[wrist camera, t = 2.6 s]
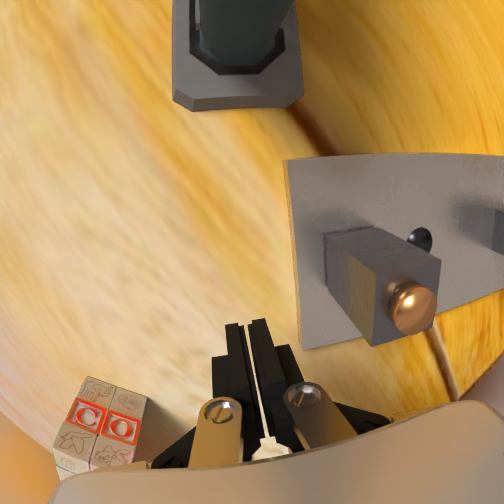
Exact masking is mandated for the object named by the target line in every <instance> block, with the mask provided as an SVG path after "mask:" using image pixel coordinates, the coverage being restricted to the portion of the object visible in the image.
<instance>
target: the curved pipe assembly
mask: <svg viewBox="0 0 504 504" xmlns="http://www.w3.org/2000/svg"><path fill="white" fill-rule="evenodd" d="M303 95H304V89H303V76H302V64H301V53H300V43H299V33H298V24H297V15H296V7H295V0H173V5H172V96H173V101H174V102H176V103H178V104H179V105H181V106H183V107H184V108H186V109H188V110H190V111H191V112H196V111H207V110H221V109H238V108H287V107H288V106H290V105H291V104H292V103H294V102H295V101H296V100H298V99H299V98H301V97H302V96H303Z"/></svg>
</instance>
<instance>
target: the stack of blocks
mask: <svg viewBox="0 0 504 504" xmlns="http://www.w3.org/2000/svg"><path fill="white" fill-rule="evenodd" d="M146 402H147V397H145V396H142V395H139V394H136V393H133V392H130V391H127V390H124V389H121V388H118V387H116V386H114V385H111V384H108V383H105V382H102V381H100V380H97V379H95V378H92V377H89V376H87V377H86V379H85V381H84V382H83V384H82V386H81V389H80V391H79V393H78V395H77V397H76V398H75V400H74V402H73V404H72V406H71V408H70V411H69V413H68V415H67V417H66V420H65V422H63V423H62V425H61V427H60V430H59V432H58V434H57V436H56V439H55V441H54V444H53V446H52V452H53V455H54V459H55V462H56V468H57V471H58V474H59V478H60V481H62V480H64V479H65V478H68V477H70V476H73V475H75V474H79V473H83V472H88V471H93V470H94V469H96V468H100V467H108V466H115V465H122V464H129V463H133V462H134V456H135V452H136V448H137V444H138V440H139V435H140V431H141V426H142V421H143V414H144V410H145V406H146Z"/></svg>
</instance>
